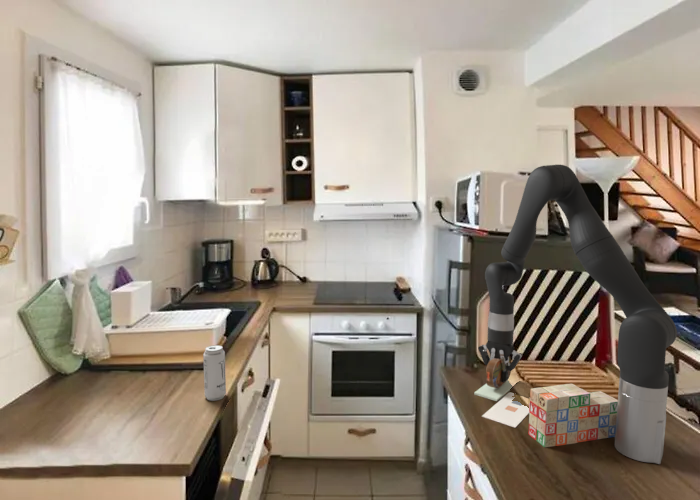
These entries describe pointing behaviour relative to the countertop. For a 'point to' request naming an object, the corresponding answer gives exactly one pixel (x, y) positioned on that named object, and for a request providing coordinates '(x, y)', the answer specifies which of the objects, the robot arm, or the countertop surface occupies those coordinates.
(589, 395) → the stack of blocks
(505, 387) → the pad
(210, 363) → the energy drink can
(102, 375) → the countertop surface
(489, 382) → the tin
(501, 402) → the tile
